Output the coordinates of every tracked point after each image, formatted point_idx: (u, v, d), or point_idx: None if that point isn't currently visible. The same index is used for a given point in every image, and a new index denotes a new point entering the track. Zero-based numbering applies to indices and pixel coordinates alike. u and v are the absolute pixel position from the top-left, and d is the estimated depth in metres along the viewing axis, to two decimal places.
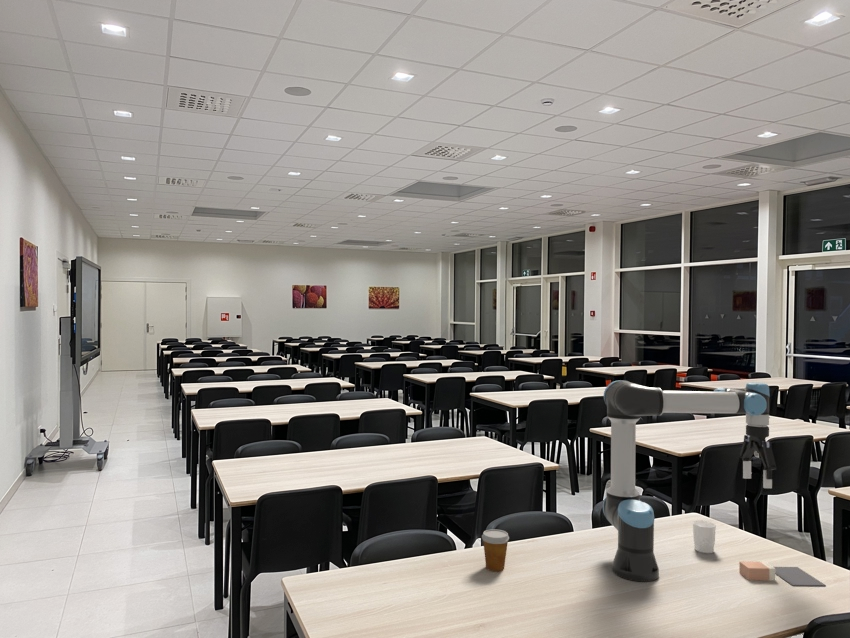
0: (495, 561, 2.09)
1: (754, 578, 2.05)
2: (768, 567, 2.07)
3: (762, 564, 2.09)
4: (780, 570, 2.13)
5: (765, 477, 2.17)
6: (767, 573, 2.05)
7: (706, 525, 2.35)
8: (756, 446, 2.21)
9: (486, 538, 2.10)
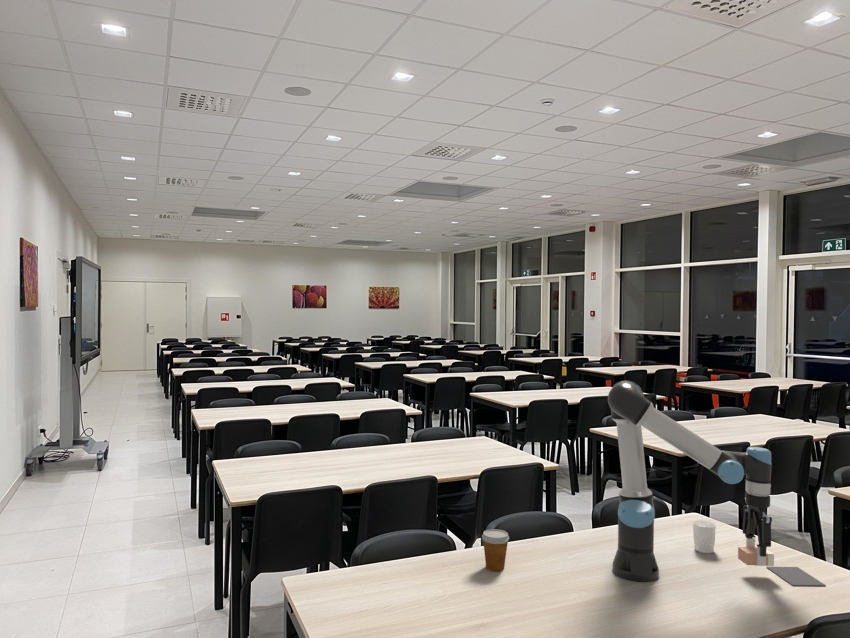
0: (495, 561, 2.09)
1: (753, 563, 2.06)
2: (766, 552, 2.07)
3: None
4: (780, 570, 2.13)
5: (759, 554, 2.05)
6: (766, 558, 2.06)
7: (706, 525, 2.35)
8: (755, 517, 2.06)
9: (486, 538, 2.10)
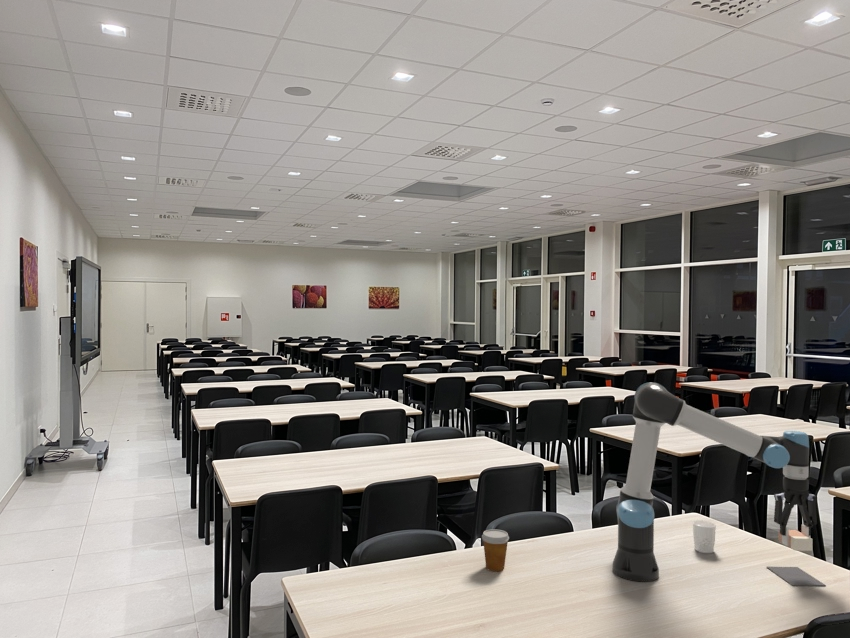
0: (495, 561, 2.09)
1: None
2: (795, 536, 2.06)
3: (800, 536, 2.06)
4: (780, 570, 2.13)
5: None
6: (789, 540, 2.07)
7: (706, 525, 2.35)
8: None
9: (486, 538, 2.10)
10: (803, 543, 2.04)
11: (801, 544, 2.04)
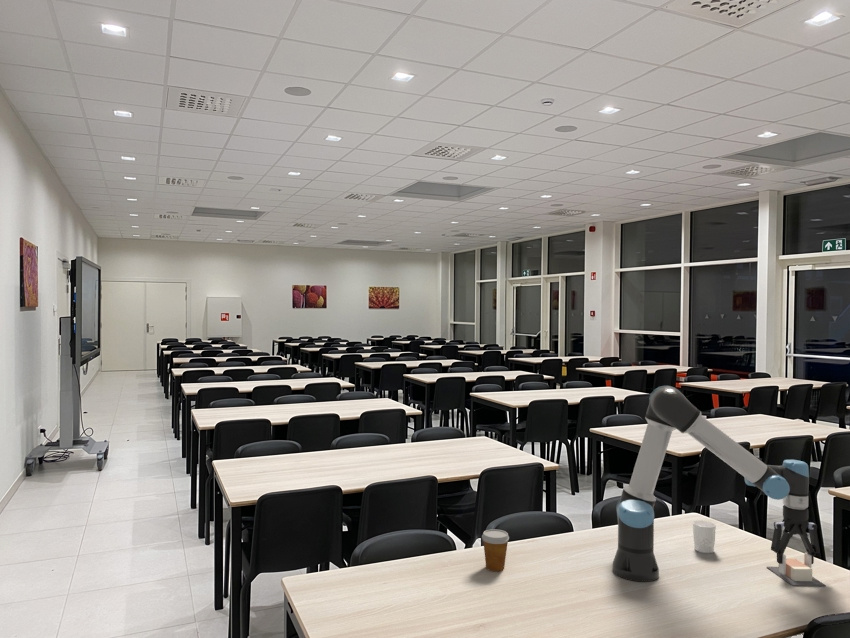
0: (495, 561, 2.09)
1: None
2: (794, 567, 2.06)
3: (800, 566, 2.06)
4: None
5: None
6: (789, 570, 2.07)
7: (706, 525, 2.35)
8: None
9: (486, 538, 2.10)
10: (803, 574, 2.04)
11: (801, 575, 2.04)
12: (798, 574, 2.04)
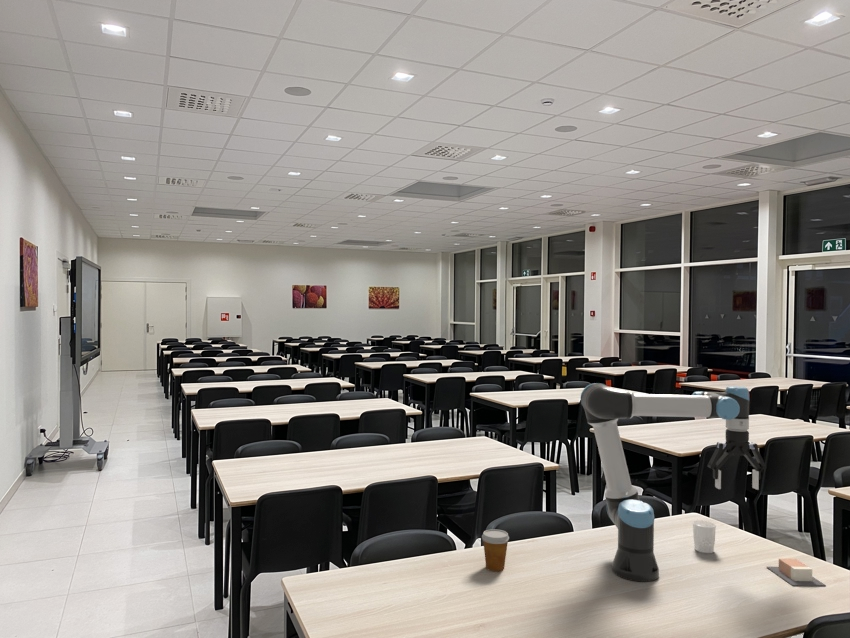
0: (495, 561, 2.09)
1: (781, 570, 2.11)
2: (794, 567, 2.06)
3: (800, 566, 2.06)
4: None
5: None
6: (789, 570, 2.07)
7: (706, 525, 2.35)
8: None
9: (486, 538, 2.10)
10: (803, 574, 2.04)
11: (801, 575, 2.04)
12: (798, 574, 2.04)
